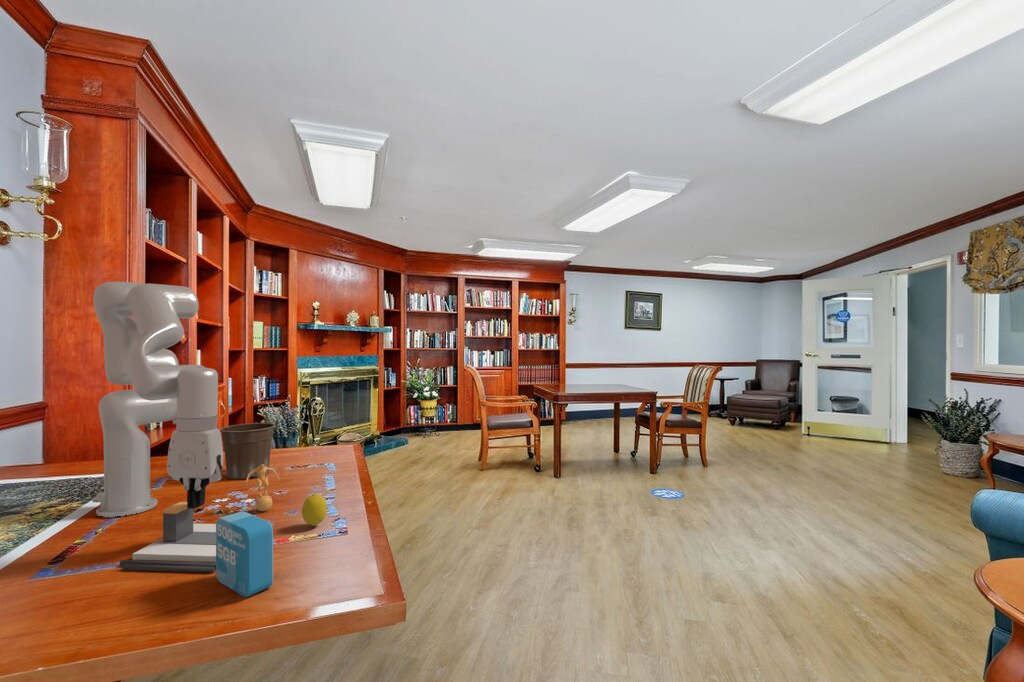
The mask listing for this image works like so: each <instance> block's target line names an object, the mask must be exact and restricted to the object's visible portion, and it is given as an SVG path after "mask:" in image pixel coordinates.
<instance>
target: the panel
mask: <svg viewBox="0 0 1024 682" xmlns="http://www.w3.org/2000/svg"><path fill="white" fill-rule="evenodd" d="M132 560H135V561H167V562H200V563H216V523H194V522H193V532H192V533H191V534H189V535H187V536H185V537H183V538H182V539H180V540H178V541H163V536H160V537H159V538H157V539H155V540H154V541H152V542H151V543H150V544H148V545H146V546H144V547H142V548H141V549H139V550H137V551H135V552H133V553H132Z"/></svg>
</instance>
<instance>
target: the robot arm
mask: <svg viewBox="0 0 1024 682" xmlns="http://www.w3.org/2000/svg"><path fill="white" fill-rule="evenodd" d="M92 303H93V308H94V313H95V315H96V318H97V320H98V323H99V325H100V327H101V330H102V334H103V355H104V372H105V377H106V379H107V381H108V382H109V383H110V384H113V385H117V386H118V385H119V386H122V385H123V386H125V385H126V386H128V385H130V386H131V385H132V386H133V389H124V390H116V391H112V392H109V393H106V394H105V395H103V397H102V398H101V399H100V401H99V403H98V412H99V413H98V414H99V419H100V422H101V423H100V424H101V427H102V435H103V437H102V438H103V439H102V440H103V492H98V493H97V494H96V496H93V498H92V499H91V501H92V503H100V504H99V507H98V508H96V511H95V514H97V515H98V517H99V516H105V517H104V518H108V517H109V518H118V517H117V516H121V517H125V515H127V516H132V515H136V513H137V514H139V513H143V512H147V511H149V510H151V509H153V508H155V507H156V506H157V505H158V499H157V498H154V497H151V443H150V442H151V441H150V438H149V437H148V435H147V434H146V433H145V432H144V431H143V430H141V429H140V428H139V426H142V425H147V424H154V423H155V424H156V423H162V422H163V423H164V422H168V421H172V424H173V425H176V428H175V430H172V434H171V436H170V441H169V445H168V450H167V452H168V453H167V461H166V463H167V464H166V472H167V476H170V477H171V480H174V481H178V482H180V483H181V484H182V485H183V490H185V491H186V502H187V508H188V509H191V508H192V509H193V510H194V509H195V510H196V509H197V508H200V507H203V506H205V503H206V488H207V487H209V485H210V484H211V483H215V482H219V481H221V479H222V475H221V474H222V471H223V469H224V445H223V441H222V433H221V431H220V428H219V429H218V410H219V409H218V407H219V405H218V404H219V402H218V399H219V374H218V372H217V370H216V369H215V368H210V367H206V366H204V365H200V364H179V363H180V362H179V359H178V357H177V355H176V354H175V353H174V352H173V351H172V350H170V349H168V348H170V347H173V346H174V345H176V344H178V343H179V342H180V341H181V340H182V339H183V337H184V335H185V329H184V326H183V324H182V322H181V320H180V319H192V318H194V316H195V315H197V313H198V311H199V298H198V297H197V294H196V293H195V291H193V290H192V289H191V287H187V286H182V285H171V284H160V283H159V284H158V283H140V282H132V281H131V282H130V281H128V282H127V281H108V282H103V283H101V284H99V285H98V286H96V288H95V290H94V293H93V302H92ZM131 514H132V515H131ZM97 515H96V516H97ZM115 516H116V517H115Z"/></svg>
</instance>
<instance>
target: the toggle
mask: <svg viewBox="0 0 1024 682" xmlns="http://www.w3.org/2000/svg"><path fill="white" fill-rule="evenodd" d="M193 523H194V509H192V508H191V509H188V508H187V501H179V502H176V503H174V504H173V505H170V506H168V507H166V508H164V509H162V537H163V541H178V540H180V539H182V538H183V537H185V536H187V535H189V534H191V533H192V532H193Z"/></svg>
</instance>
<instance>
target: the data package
mask: <svg viewBox="0 0 1024 682" xmlns="http://www.w3.org/2000/svg"><path fill="white" fill-rule="evenodd" d="M215 524H216V562H215V563H216V569H215V573H216V574H215V575H216V579H217V580H218V582H219V583H220V584H222V585H224V586H225V587H227V588H228V589H231V590H232V591H234V592H236V593H237V594H238V595H240V596H241V597H243V598H248V597H250V596H252V595H254V594H257V593H259V592H261V591H265V590H266V589H268V588H270V587H272V585H273V583H274V530H273V529H274V528H273V525H272V523H271V522H270V521H268V520H266V519H263V518H261V517H258V516H256V515H253V514H251V513H249V512H246V511H244V510H242V511H238V512H235V513H231V514H228V515H224V516H221V517H218V519H217V520H216V523H215Z"/></svg>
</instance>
